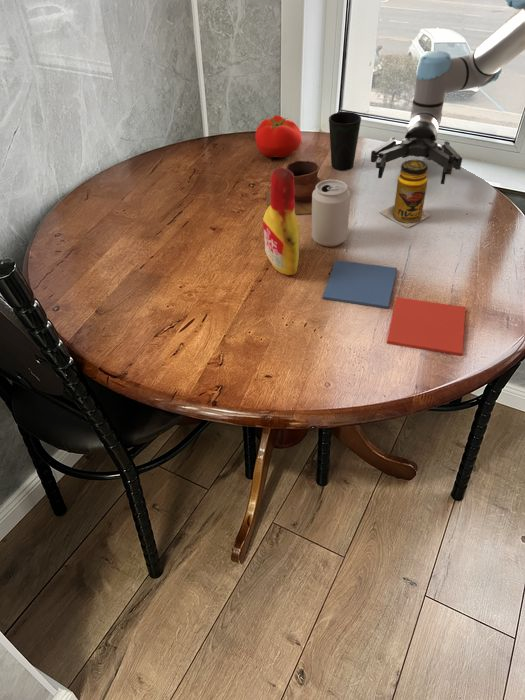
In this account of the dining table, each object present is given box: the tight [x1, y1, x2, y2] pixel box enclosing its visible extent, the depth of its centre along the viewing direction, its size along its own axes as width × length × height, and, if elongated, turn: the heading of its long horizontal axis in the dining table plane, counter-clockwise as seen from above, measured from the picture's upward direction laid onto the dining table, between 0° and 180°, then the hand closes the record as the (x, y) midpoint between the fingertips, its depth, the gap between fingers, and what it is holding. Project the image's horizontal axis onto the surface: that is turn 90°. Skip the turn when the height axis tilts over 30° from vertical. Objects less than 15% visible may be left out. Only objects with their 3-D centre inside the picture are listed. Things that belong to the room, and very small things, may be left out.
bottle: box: [262, 167, 301, 276], centre depth 101 cm, size 12×6×20 cm, turn 12°
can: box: [311, 179, 351, 248], centre depth 109 cm, size 8×8×12 cm
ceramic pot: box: [264, 160, 325, 215], centre depth 125 cm, size 18×18×7 cm
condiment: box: [378, 159, 431, 228], centre depth 115 cm, size 7×8×12 cm
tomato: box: [254, 115, 303, 159], centre depth 142 cm, size 13×12×8 cm
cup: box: [328, 111, 362, 172], centre depth 133 cm, size 8×8×12 cm
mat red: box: [386, 296, 467, 356], centre depth 92 cm, size 12×12×1 cm
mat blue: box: [321, 259, 398, 310], centre depth 102 cm, size 12×12×1 cm
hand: (411, 175), depth 118 cm, fingers open, 13 cm apart
